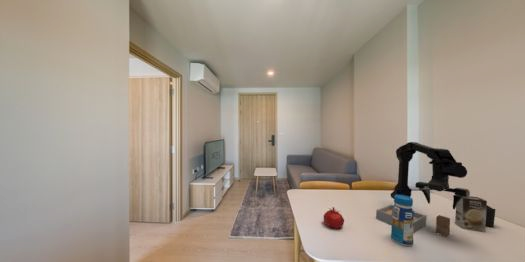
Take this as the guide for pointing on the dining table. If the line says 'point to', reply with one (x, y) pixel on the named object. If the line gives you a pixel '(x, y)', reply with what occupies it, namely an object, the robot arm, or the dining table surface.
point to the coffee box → (471, 213)
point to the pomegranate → (333, 218)
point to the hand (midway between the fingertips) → (441, 206)
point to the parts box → (385, 216)
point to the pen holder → (490, 216)
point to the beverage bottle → (402, 220)
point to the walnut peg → (443, 225)
